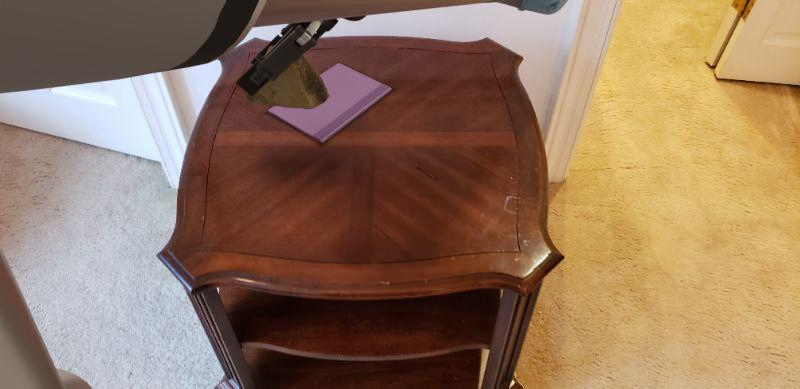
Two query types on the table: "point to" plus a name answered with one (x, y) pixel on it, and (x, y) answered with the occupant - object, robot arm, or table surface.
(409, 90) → the table surface
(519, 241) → the table surface
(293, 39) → the robot arm
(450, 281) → the table surface
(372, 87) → the lavender flat block
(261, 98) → the rock
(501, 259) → the table surface
